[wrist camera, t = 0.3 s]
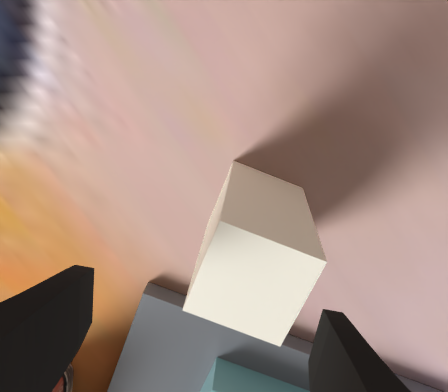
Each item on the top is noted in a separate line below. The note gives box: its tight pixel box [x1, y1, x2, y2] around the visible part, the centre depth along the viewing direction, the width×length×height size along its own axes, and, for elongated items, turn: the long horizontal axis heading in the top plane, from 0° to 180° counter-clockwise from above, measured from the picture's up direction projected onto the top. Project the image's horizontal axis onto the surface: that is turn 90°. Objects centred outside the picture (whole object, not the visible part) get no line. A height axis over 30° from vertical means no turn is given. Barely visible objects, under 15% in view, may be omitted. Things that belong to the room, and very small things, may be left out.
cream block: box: [183, 161, 327, 346], centre depth 18 cm, size 4×4×8 cm
